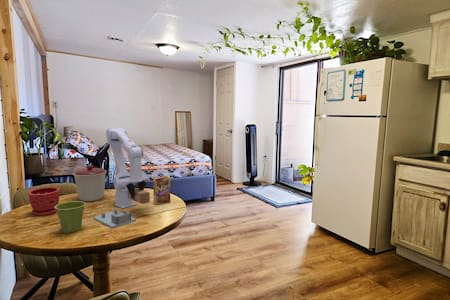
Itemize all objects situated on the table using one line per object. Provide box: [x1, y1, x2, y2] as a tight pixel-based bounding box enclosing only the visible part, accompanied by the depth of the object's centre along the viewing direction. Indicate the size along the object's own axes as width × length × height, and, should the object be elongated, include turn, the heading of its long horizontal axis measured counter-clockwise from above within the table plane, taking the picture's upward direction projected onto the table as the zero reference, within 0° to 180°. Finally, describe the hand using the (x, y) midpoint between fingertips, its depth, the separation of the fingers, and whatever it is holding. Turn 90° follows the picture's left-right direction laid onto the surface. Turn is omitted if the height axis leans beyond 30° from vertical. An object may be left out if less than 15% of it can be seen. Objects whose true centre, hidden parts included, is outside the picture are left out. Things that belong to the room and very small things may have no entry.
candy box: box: [152, 175, 171, 206], centre depth 158 cm, size 9×4×15 cm, turn 123°
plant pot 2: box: [55, 200, 87, 234], centre depth 120 cm, size 12×12×11 cm
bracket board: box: [92, 209, 137, 229], centre depth 132 cm, size 18×12×4 cm, turn 50°
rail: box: [127, 187, 151, 205], centre depth 141 cm, size 14×4×5 cm, turn 49°
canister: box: [72, 164, 107, 203], centre depth 164 cm, size 18×18×21 cm
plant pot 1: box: [28, 186, 60, 216], centre depth 141 cm, size 13×13×12 cm
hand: (136, 196), depth 142 cm, fingers closed on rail, 4 cm apart
